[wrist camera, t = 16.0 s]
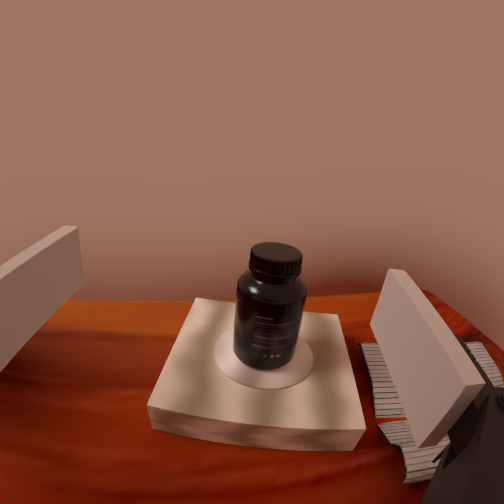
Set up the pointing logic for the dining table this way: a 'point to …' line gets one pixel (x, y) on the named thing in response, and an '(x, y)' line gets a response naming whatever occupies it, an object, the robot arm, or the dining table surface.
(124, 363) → the dining table surface
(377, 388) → the mat
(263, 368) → the supplement bottle
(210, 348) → the stand
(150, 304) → the dining table surface
